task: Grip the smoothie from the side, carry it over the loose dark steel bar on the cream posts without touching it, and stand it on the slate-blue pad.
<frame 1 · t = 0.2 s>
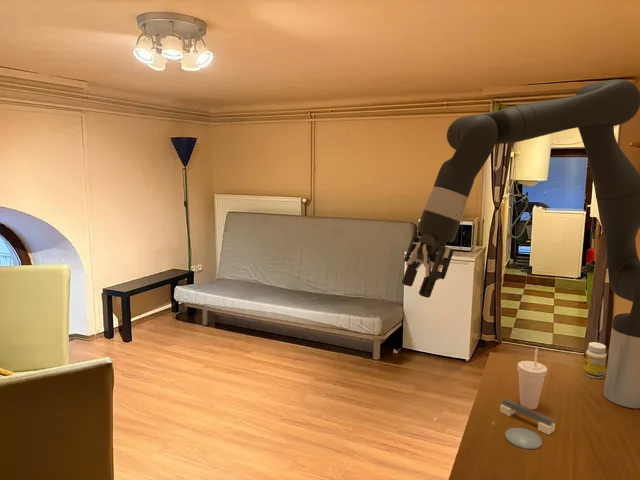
hand: (414, 290, 99), 31 cm above the table, tool tilted 20°, fingers open, 8 cm apart
supplement bottle: (593, 375, 131), on the table
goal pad: (523, 438, 101), on the table
steel bar: (526, 414, 108), point 2 cm above the table, touching hurdle stand
smoothie: (528, 405, 115), on the table
hurdle stand: (526, 420, 108), on the table
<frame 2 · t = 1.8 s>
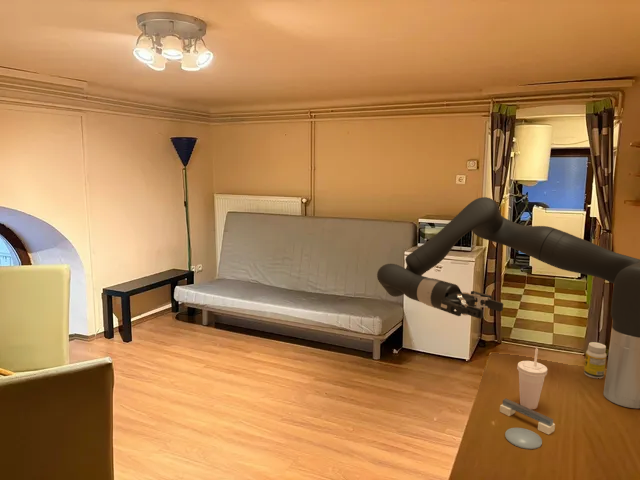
hand: (492, 310, 119), 20 cm above the table, tool horizontal, fingers open, 8 cm apart
nothing on the table moved.
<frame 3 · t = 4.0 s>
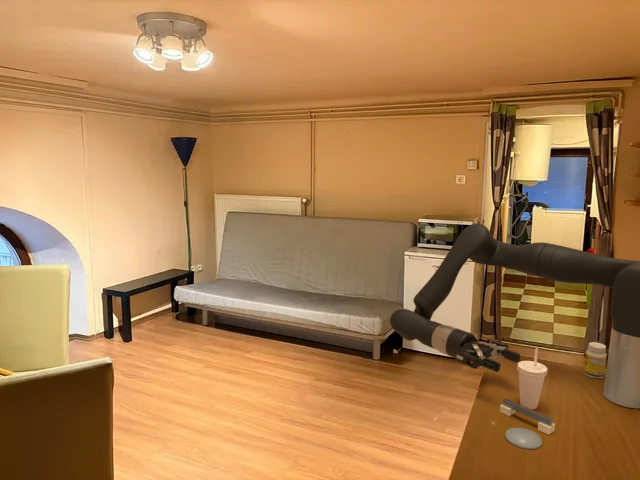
hand: (509, 363, 118), 8 cm above the table, tool horizontal, fingers open, 8 cm apart
nothing on the table moved.
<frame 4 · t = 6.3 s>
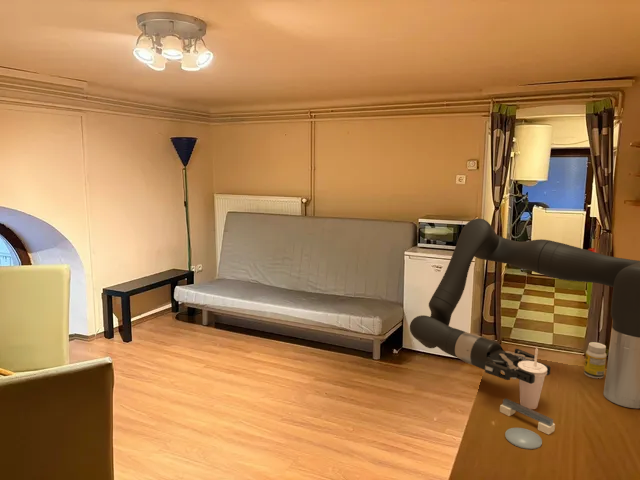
hand: (541, 375, 111), 8 cm above the table, tool horizontal, fingers closed on smoothie, 6 cm apart
smoothie: (528, 405, 115), on the table, touching gripper
everything else where it was.
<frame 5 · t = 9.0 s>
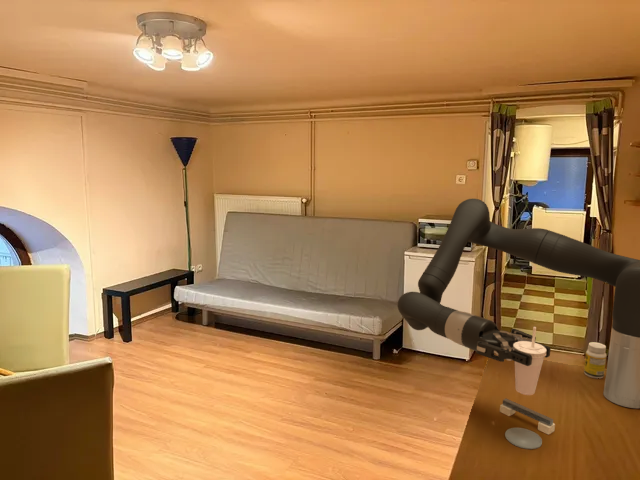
hand: (540, 356, 99), 18 cm above the table, tool horizontal, fingers closed on smoothie, 6 cm apart
smoothie: (524, 391, 102), point 9 cm above the table, touching gripper
everything else where it was.
when the fingers open (10 cm above the table, at t = 11.7 s): smoothie drops 1 cm, resting on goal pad.
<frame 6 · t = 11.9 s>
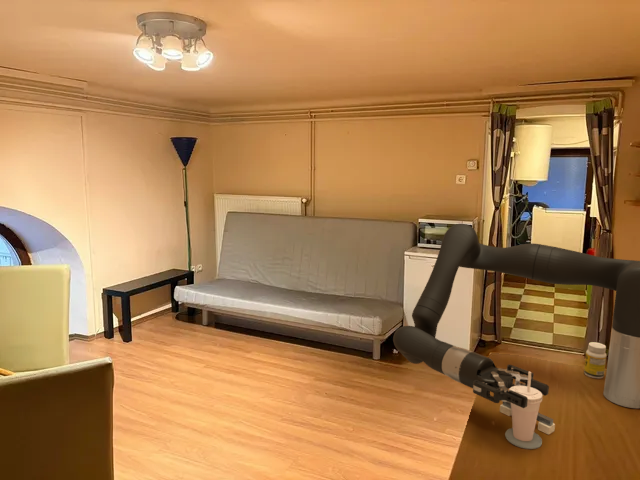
hand: (537, 396, 98), 10 cm above the table, tool horizontal, fingers open, 7 cm apart
smoothie: (522, 437, 102), resting on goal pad
everything else where it was.
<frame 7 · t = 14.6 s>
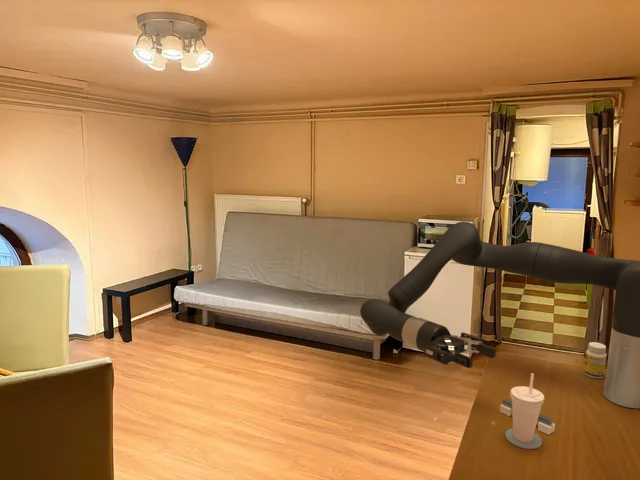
hand: (483, 358, 107), 14 cm above the table, tool horizontal, fingers open, 8 cm apart
nothing on the table moved.
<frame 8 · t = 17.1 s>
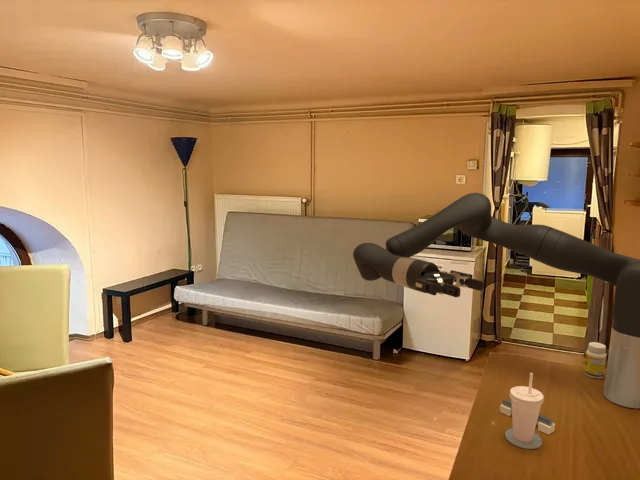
hand: (471, 289, 109), 28 cm above the table, tool horizontal, fingers open, 8 cm apart
nothing on the table moved.
at the end: smoothie 0.1 cm off-centre on the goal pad, point 0.2 cm above the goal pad's base; smoothie tilted 0°; steel bar moved 0.0 cm from its start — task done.
